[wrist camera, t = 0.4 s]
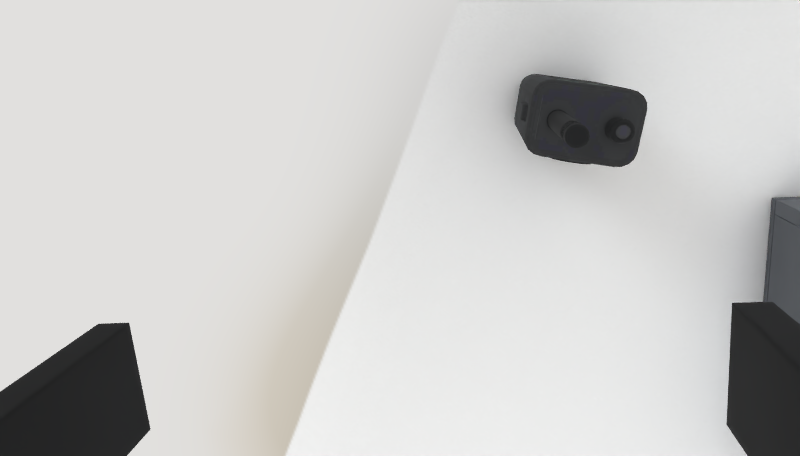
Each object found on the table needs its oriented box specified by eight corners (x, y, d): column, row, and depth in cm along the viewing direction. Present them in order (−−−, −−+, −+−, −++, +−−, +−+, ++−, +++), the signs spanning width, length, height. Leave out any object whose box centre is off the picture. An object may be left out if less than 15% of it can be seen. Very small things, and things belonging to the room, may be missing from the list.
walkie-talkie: (608, 83, 34) (701, 102, 20) (595, 146, 35) (674, 208, 21) (517, 71, 35) (543, 80, 20) (507, 134, 35) (524, 185, 21)
